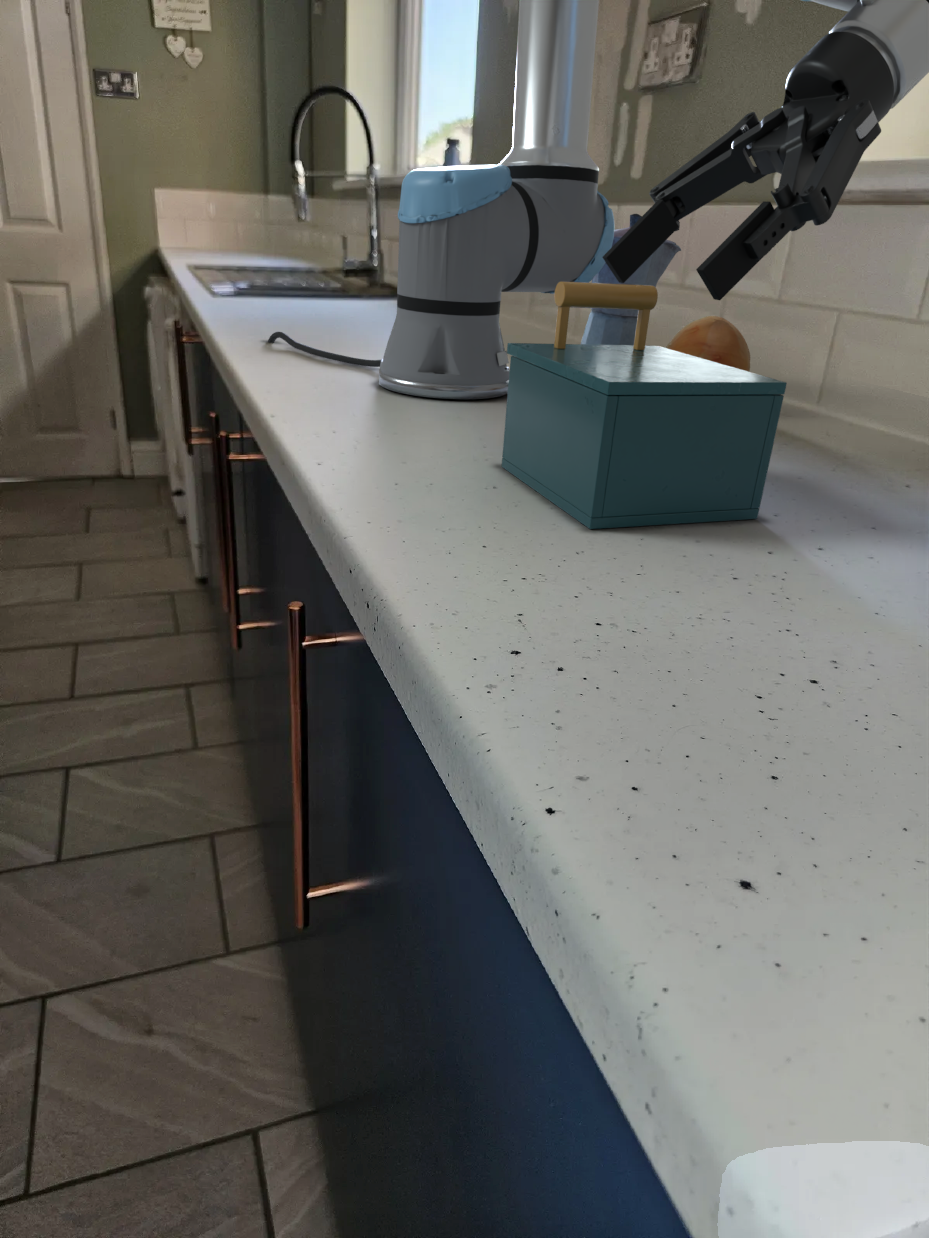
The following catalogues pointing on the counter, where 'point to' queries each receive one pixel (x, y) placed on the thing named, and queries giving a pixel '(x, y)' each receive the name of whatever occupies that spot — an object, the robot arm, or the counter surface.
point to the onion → (713, 342)
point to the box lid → (633, 352)
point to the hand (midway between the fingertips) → (655, 277)
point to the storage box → (637, 450)
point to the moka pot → (622, 322)
